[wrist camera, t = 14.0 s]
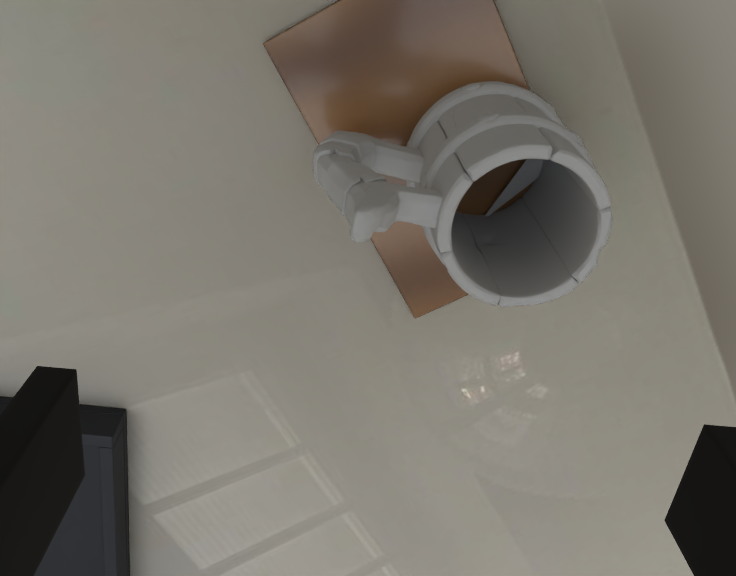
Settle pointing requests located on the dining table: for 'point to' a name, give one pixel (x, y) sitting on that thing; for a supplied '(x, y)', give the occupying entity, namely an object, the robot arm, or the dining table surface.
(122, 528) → the tray
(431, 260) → the mat
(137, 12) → the dining table surface
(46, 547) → the robot arm
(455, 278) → the mug
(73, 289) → the dining table surface
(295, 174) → the dining table surface
